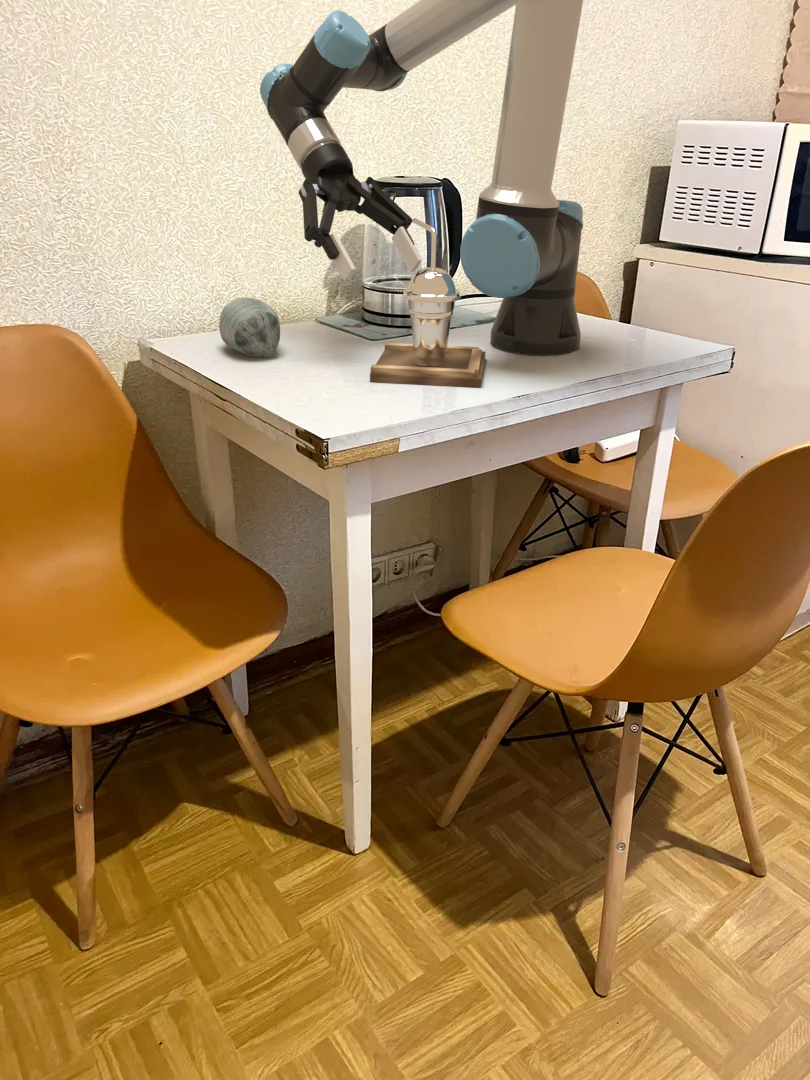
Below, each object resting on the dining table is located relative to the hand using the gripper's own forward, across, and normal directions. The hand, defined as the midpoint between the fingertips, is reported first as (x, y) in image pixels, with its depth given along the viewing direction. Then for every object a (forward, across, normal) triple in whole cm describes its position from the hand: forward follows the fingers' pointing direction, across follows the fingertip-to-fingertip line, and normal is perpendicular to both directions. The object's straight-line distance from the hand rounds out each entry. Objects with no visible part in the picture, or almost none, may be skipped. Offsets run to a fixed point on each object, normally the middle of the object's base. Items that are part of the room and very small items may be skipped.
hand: (384, 270), depth 126 cm
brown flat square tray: (+17, 0, -2) cm, 17 cm away
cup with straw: (+16, 0, -1) cm, 16 cm away
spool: (-2, +15, -21) cm, 26 cm away
